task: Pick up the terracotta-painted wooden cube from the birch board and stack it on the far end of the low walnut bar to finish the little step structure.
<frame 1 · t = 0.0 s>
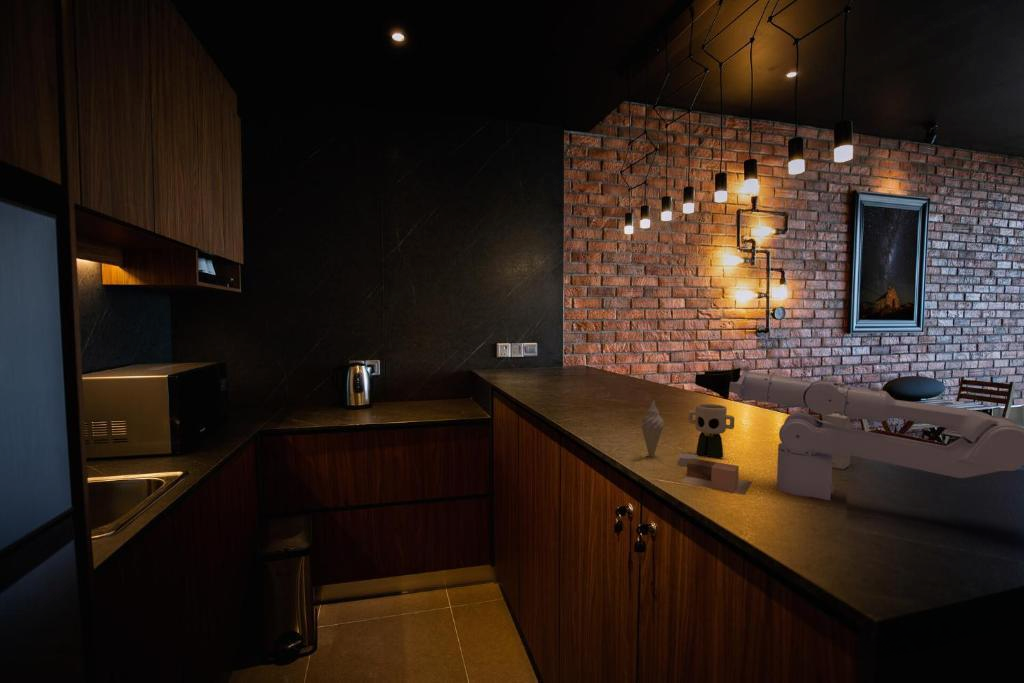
hand: (700, 377, 105), 22 cm above the counter, tool horizontal, fingers open, 7 cm apart
grey block: (688, 469, 111), on the counter
ice cream cone: (651, 461, 117), on the counter
skincare box: (835, 465, 115), on the counter
walnut bar: (706, 481, 103), resting on birch board
character mug: (709, 458, 120), on the counter
terracotta cube: (724, 487, 96), point 1 cm above the counter, touching birch board
birch board: (716, 486, 99), on the counter
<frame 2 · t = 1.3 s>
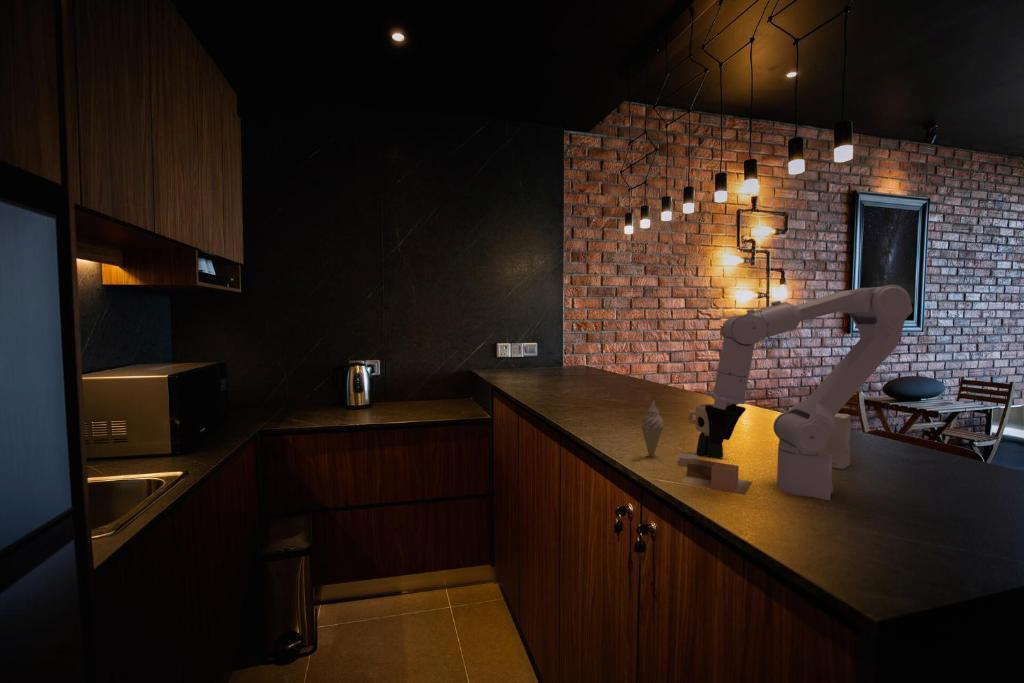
hand: (719, 441, 96), 10 cm above the counter, tool pointing down, fingers open, 7 cm apart
nothing on the counter moved.
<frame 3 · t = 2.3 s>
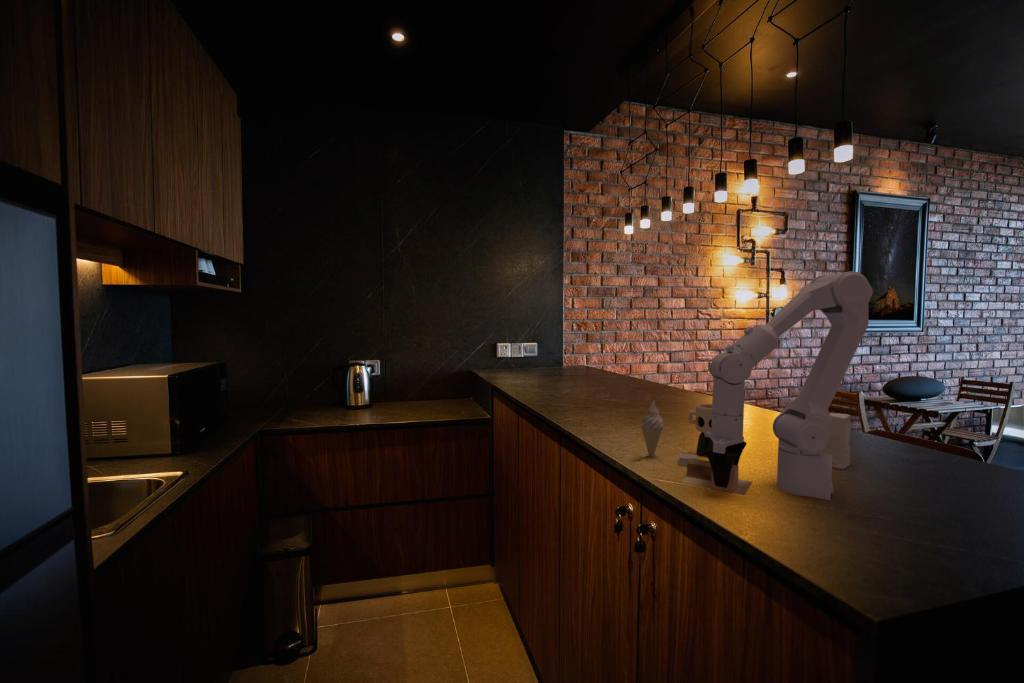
hand: (725, 481, 96), 2 cm above the counter, tool pointing down, fingers open, 7 cm apart
nothing on the counter moved.
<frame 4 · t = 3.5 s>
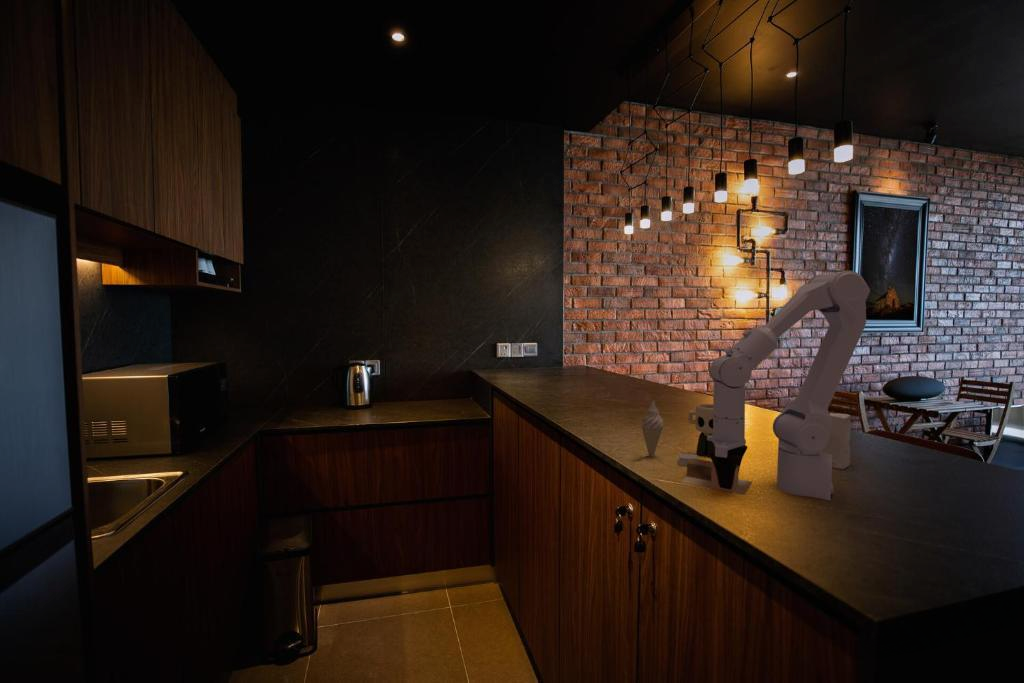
hand: (728, 484, 96), 2 cm above the counter, tool pointing down, fingers closed on terracotta cube, 4 cm apart
terracotta cube: (724, 487, 96), point 1 cm above the counter, touching birch board, gripper
everything else where it was.
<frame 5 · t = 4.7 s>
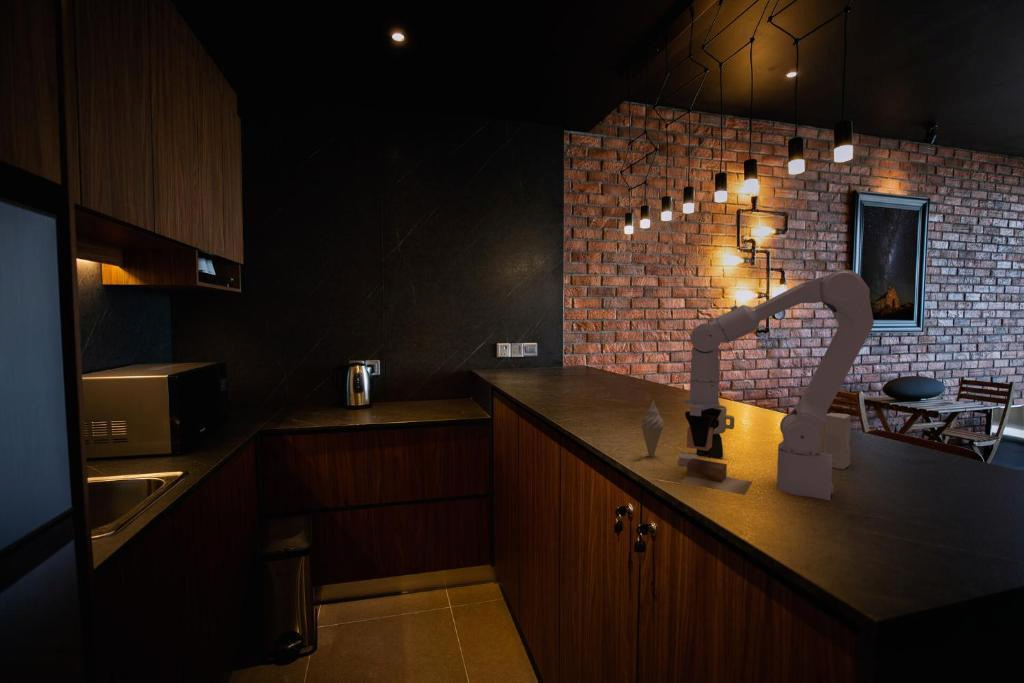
hand: (702, 444, 103), 8 cm above the counter, tool pointing down, fingers closed on terracotta cube, 4 cm apart
terracotta cube: (699, 446, 103), point 7 cm above the counter, touching gripper
everything else where it was.
when the fingers open (5 cm above the counter, at t = 5.5 s): terracotta cube stays where it is, resting on walnut bar.
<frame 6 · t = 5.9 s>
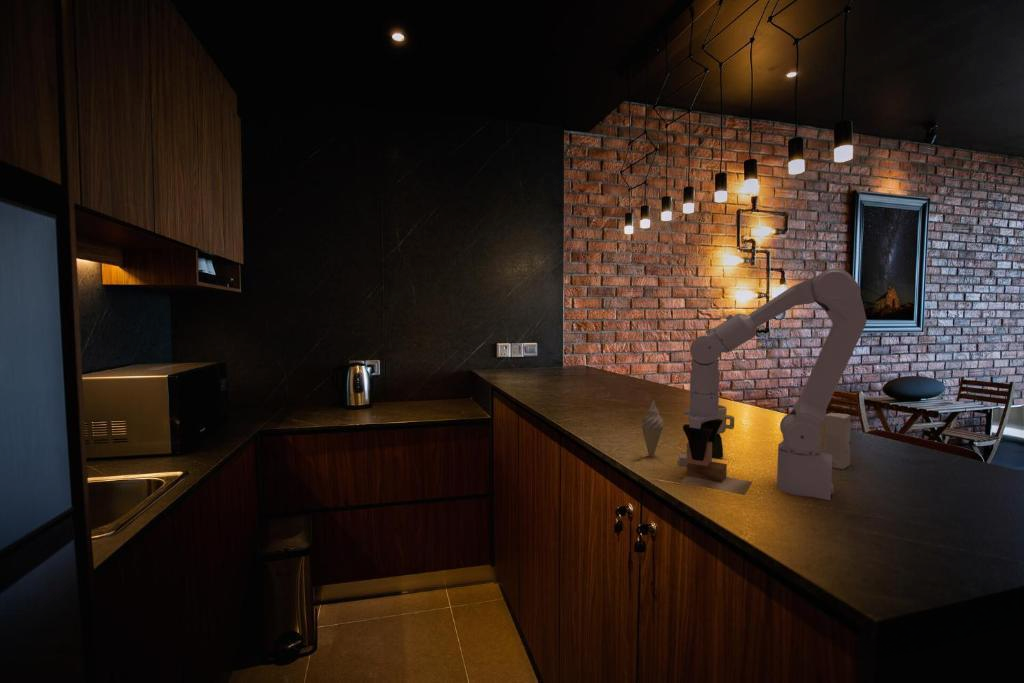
hand: (702, 455, 103), 5 cm above the counter, tool pointing down, fingers open, 7 cm apart
terracotta cube: (699, 462, 103), point 4 cm above the counter, touching walnut bar
everything else where it was.
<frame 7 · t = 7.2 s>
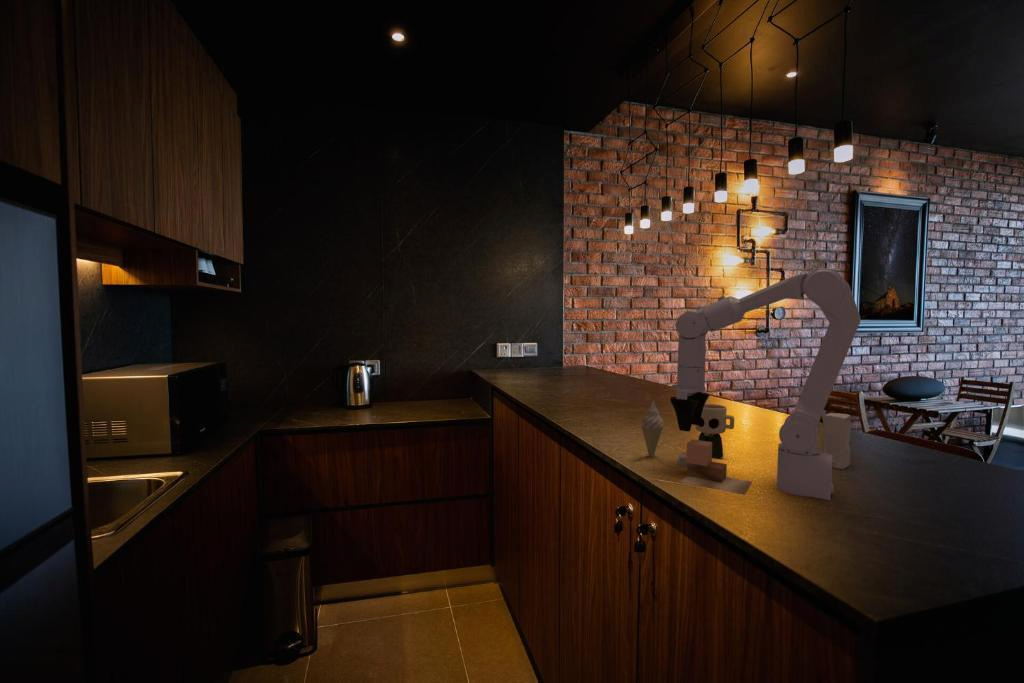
hand: (689, 427, 107), 10 cm above the counter, tool pointing down, fingers open, 7 cm apart
nothing on the counter moved.
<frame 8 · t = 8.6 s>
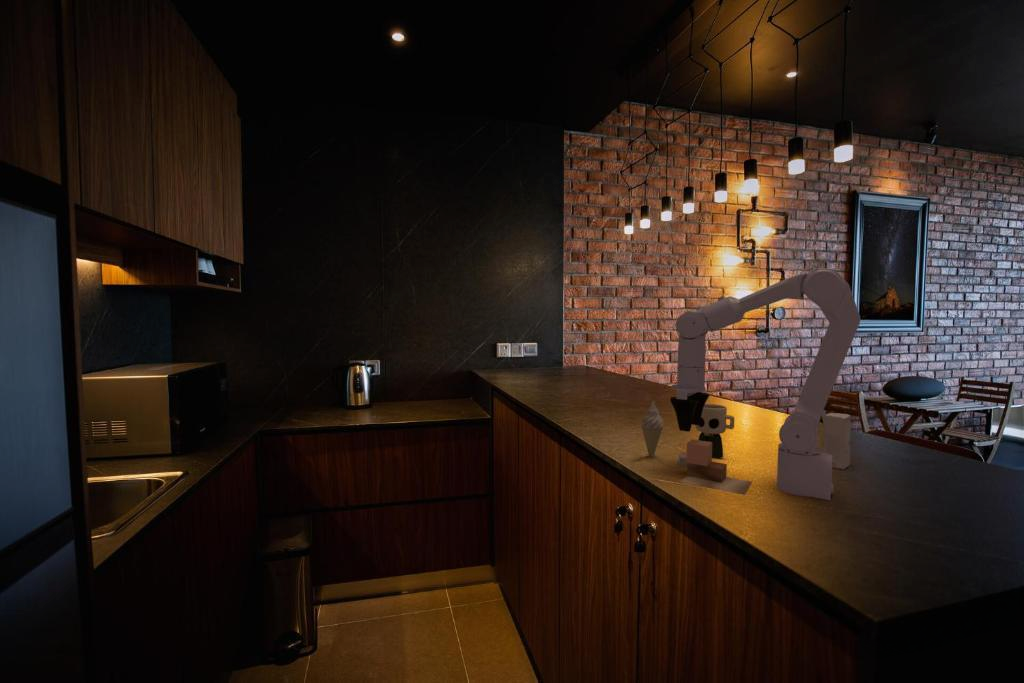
hand: (689, 427, 107), 10 cm above the counter, tool pointing down, fingers open, 7 cm apart
nothing on the counter moved.
at the end: terracotta cube 0.9 cm off-centre on the walnut bar, point 3.8 cm above the walnut bar's base; terracotta cube tilted 0°; the gripper is holding nothing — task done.
